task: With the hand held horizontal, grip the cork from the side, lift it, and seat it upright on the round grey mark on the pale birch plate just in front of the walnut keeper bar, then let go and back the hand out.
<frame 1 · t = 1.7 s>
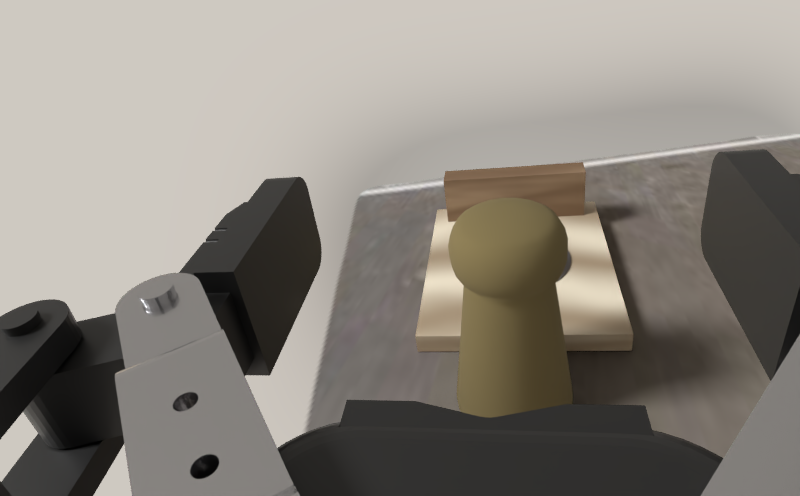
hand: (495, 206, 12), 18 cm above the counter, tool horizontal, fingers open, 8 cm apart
cork: (514, 396, 30), on the counter
keeper: (517, 274, 39), on the counter
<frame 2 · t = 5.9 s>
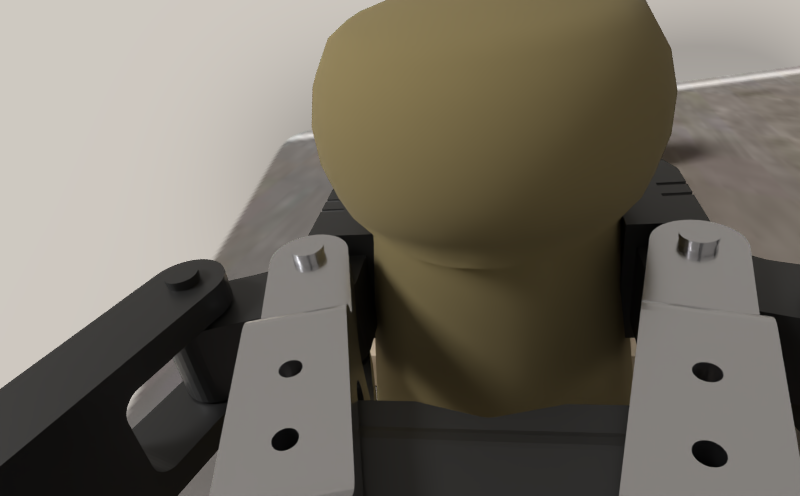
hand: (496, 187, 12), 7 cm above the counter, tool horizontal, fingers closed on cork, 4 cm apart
cork: (506, 492, 14), on the counter, touching gripper
when the fingers open (8 cm above the counter, at t = 9.9 s): cork moves 2 cm, resting on keeper.
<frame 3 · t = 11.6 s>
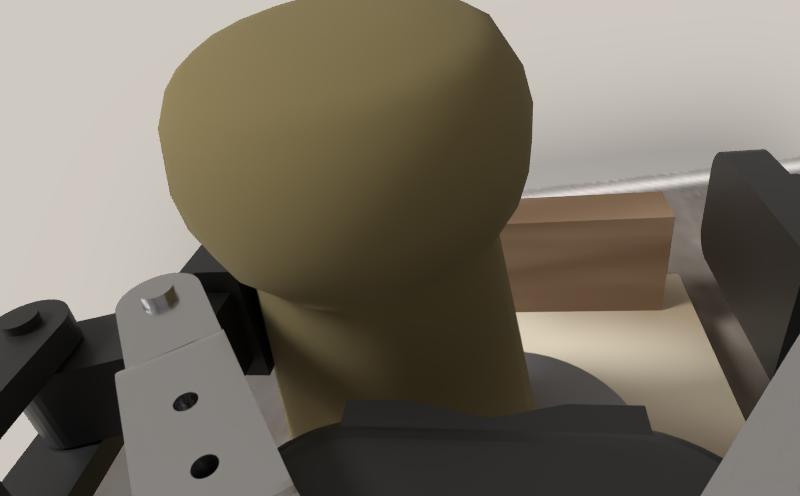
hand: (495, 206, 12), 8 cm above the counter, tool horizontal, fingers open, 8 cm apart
cork: (423, 466, 14), point 1 cm above the counter, touching gripper, keeper
keeper: (508, 475, 15), on the counter
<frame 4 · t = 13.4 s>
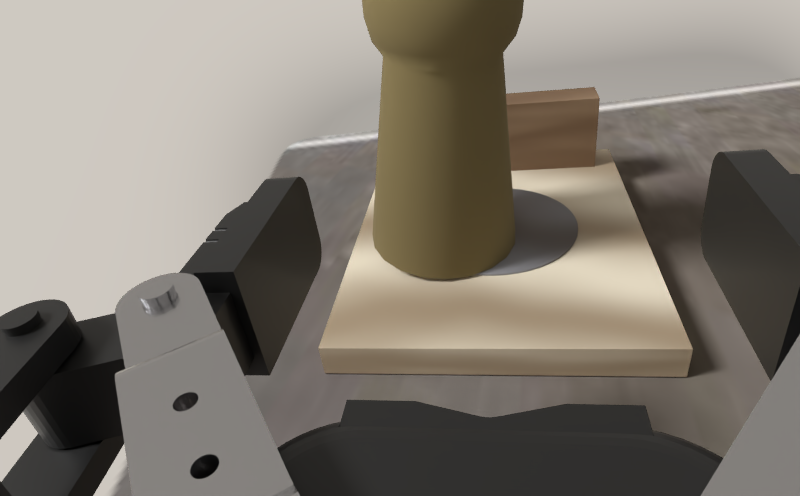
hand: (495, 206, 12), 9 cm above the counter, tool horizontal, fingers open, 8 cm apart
cork: (443, 236, 24), point 1 cm above the counter, touching keeper
keeper: (494, 250, 25), on the counter
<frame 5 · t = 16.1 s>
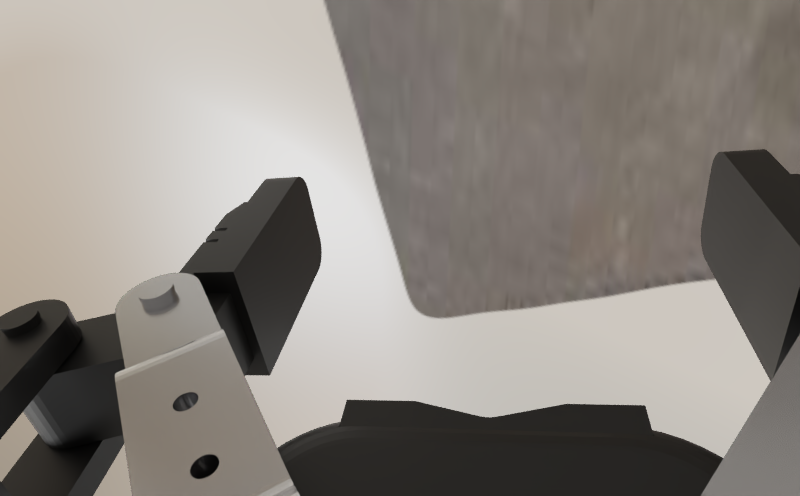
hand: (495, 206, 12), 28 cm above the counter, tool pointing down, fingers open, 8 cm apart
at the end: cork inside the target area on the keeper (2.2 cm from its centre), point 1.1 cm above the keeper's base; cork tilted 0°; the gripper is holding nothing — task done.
